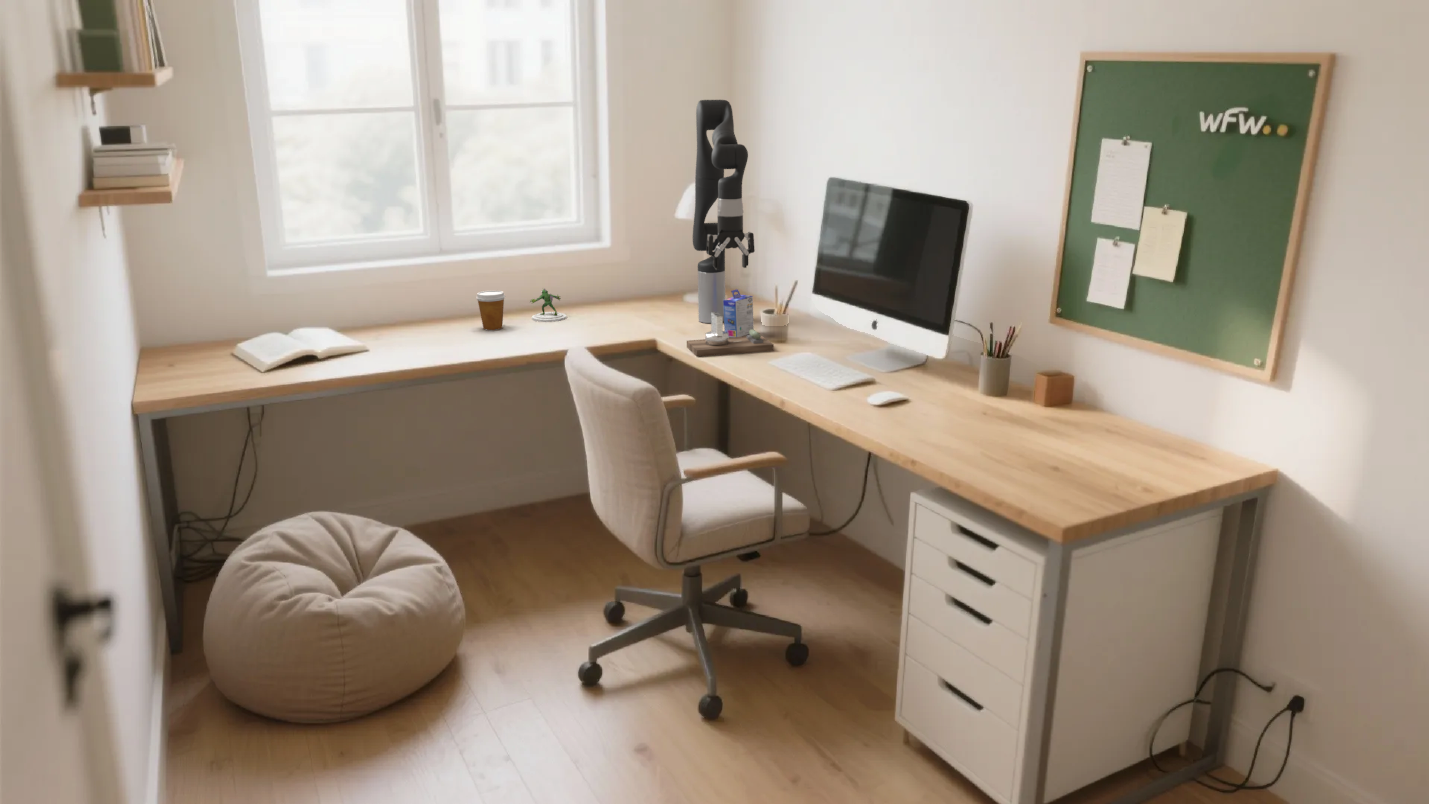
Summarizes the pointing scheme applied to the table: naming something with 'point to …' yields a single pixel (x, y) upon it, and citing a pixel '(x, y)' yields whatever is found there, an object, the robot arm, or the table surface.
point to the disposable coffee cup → (491, 309)
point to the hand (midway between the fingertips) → (730, 268)
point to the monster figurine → (548, 315)
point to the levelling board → (732, 345)
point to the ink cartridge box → (738, 314)
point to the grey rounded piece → (716, 331)
